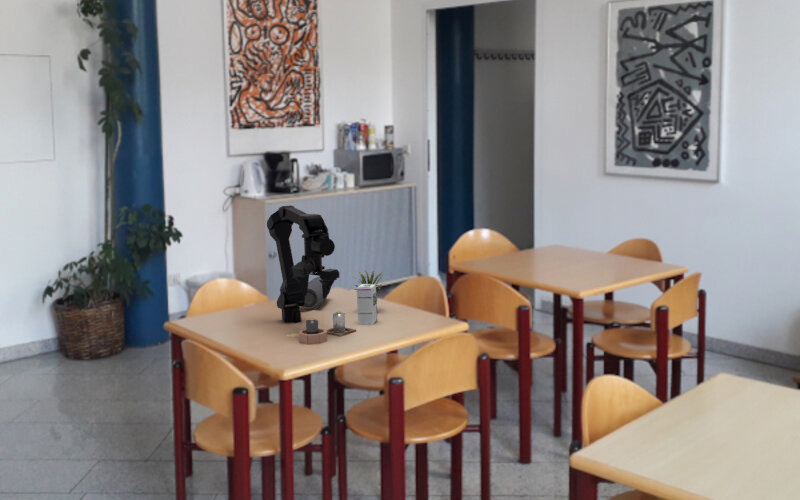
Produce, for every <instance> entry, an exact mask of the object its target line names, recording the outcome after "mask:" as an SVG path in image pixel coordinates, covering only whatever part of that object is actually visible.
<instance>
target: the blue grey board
mask: <svg viewBox="0 0 800 500" xmlns="http://www.w3.org/2000/svg"><path fill="white" fill-rule="evenodd" d="M318 328H322V329H324V328H323V326H319V325H318ZM286 336H287V337H290V338H296V337H299V332H294V333H293V332H292V333H287V334H286Z"/></svg>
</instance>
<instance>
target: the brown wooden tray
mask: <svg viewBox="0 0 800 500" xmlns="http://www.w3.org/2000/svg"><path fill="white" fill-rule="evenodd" d="M326 331H327V335H330V336H335V337H340V338H341V337H344V336H347V335H350V334H353V333H357V329H355V328H351V327H349V328H348V327H345V332H343V333H335V332H334V330H333V327H332V328H329V329H326Z"/></svg>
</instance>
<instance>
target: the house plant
mask: <svg viewBox="0 0 800 500" xmlns="http://www.w3.org/2000/svg"><path fill="white" fill-rule="evenodd" d="M364 272H365V274H366V276H365V275H363V273H362V272H360V271H359V272H358V273H359V276H360V278H361V279H359V284H360V285H361V284H375V285H376V293H377V292H378V293H379V290H381V288H382V287H383V286H382V285H385V282H384V283H381V284H378V283H379V281H380V280H382V278H384V277H386V276H385V275H382V274H384V273H386V271H383V272H380V273H378V275H376V276H375V272H374V271H372V272H371V275H370V276H369V273H368V272H367V270H364ZM374 277H375V278H374ZM379 277H380V278H379ZM353 278H354V279H356V277H355V276H353ZM378 278H379V279H378ZM366 279H367V280H366ZM354 286H356V288H353V290H355V291H357V287H358V286H359V285H358V284H354ZM378 289H379V290H378ZM378 299H379V295H378V294H376V300H377V301H378Z"/></svg>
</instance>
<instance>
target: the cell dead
mask: <svg viewBox="0 0 800 500" xmlns="http://www.w3.org/2000/svg"><path fill="white" fill-rule="evenodd" d="M318 326H319V320H318V319H315V318H309V319H307V320H306V321H305V329H306V334H319V333H318Z"/></svg>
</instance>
